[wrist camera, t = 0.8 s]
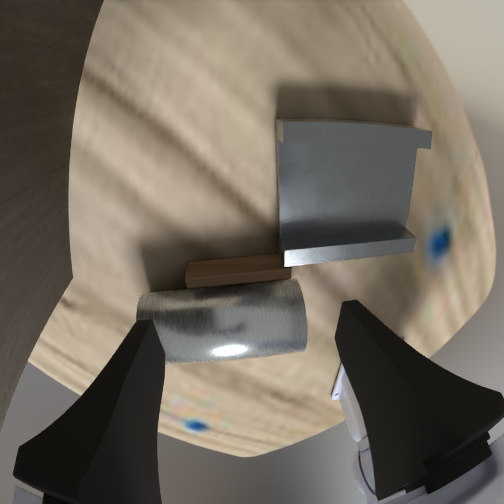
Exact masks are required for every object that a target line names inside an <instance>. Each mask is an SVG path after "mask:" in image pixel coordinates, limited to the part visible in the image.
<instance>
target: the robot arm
mask: <svg viewBox="0 0 504 504" xmlns="http://www.w3.org/2000/svg"><path fill="white" fill-rule="evenodd" d="M335 341H336V345H337V349H338V352H339V356H340V360H341V362H342V363H341V367H340V370H339V373H338V377H337V380H336V383H335V386H334V389H333V392H332V395H331V399H332V400H336V399H339V401H340V404H341V407H342V410H343V413H344V416H345V419H346V422H347V425H348V428H349V432H350V434H351V436H352V438H353V439H354V440H355V441H357V444H358V447H359V449H358V450H356V451H355V452H354V455H353V457H352V462H351V466H352V472H353V476H354V479H355V482H356V484H357V486H358V488H359V489H360V491H361V492H362V493H363V495H364V497H365V499H366V501H367V504H496V503H497V502H498V501H499V500H500V499H501V498H502V497H503V496H504V434H503V435H502V436H500V437H499V438H498V439H496V440H495V441H494V442H492V443H491V444H490V445H488V443H487V440H489V439H490V435H489V433H488V431H489V430H490V429H491V428H492V427H494V426H495V425H496V424H497V423H498V422H499V421H500V420H501V419H502V418H504V398H503V396H502V394H501V393H500V392H497V391H495V390H491V389H488V388H485V387H482V386H480V385H476V384H475V383H472V382H470V381H468V380H465V379H463V378H461V377H459V376H457V375H455V374H453V373H451V372H449V371H448V370H446V369H444V368H442V367H441V366H439V365H437V364H436V363H434V362H432V361H431V360H429V359H428V358H426V357H425V356H423V355H422V354H421V353H419V352H418V351H416V350H415V349H414V348H412V347H411V346H410V345H409V344H407V343H406V342H405V341H403V340H402V339H401V338H400V337H398V336H397V335H396V334H395V333H394V332H393V331H391V330H390V329H389V328H388V327H387V326H386V325H384V324H383V323H382V322H381V321H380V320H379V319H378V318H377V317H376V316H374V315H373V314H372V313H371V312H370V311H369V310H368V309H367V308H366V307H364V306H363V305H362V304H361V303H360V302H359V301H358V300H352V301H345V302H342V306H341V311H340V316H339V320H338V325H337V329H336V333H335ZM164 378H165V351H164V349H163V346H162V344H161V341H160V339H159V336H158V333H157V331H156V328H155V325H154V322H153V320H152V319H148V320H137V321H136V323H135V324H134V325H133V327H132V328H131V330H130V331H129V333H128V334H127V336H126V337H125V339H124V340H123V342H122V343H121V345H120V346H119V347H118V349H117V350H116V352H115V353H114V355H113V356H112V357H111V359H110V360H109V362H108V363H107V364H106V366H105V367H104V368H103V370H102V371H101V372H100V374H99V375H98V376H97V378H96V379H95V380H94V381H93V383H92V384H91V385H90V386H89V388H88V389H87V390H86V391H85V392H84V393H83V394H82V396H81V397H80V398H79V399H78V400H77V401H76V402H75V403H74V404H73V405H72V406H71V407H70V408H69V409H68V410H67V411H66V412H65V413H64V414H63V415H62V416H61V417H59V418H58V419H57V420H56V421H55V422H53V423H52V424H51V425H50V426H49V427H47V428H46V429H45V430H43V431H42V432H41V433H39V434H38V435H37V436H35V437H34V438H32V439H31V440H29V441H27V442H26V443H25V444H23V445H21V446H19V449H18V453H17V457H16V462H15V466H14V471H13V476H14V477H15V478H16V479H18V480H20V481H22V482H23V483H25V484H27V485H29V486H31V487H33V488H35V489H37V490H39V491H41V492H43V493H44V496H43V498H42V497H40V496H38V495H35V494H33V493H31V492H29V491H27V490H25V489H23V488H21V487H19V486H15V491H14V499H13V504H162V502H161V495H160V486H159V477H158V461H157V460H158V459H157V430H158V420H159V412H160V405H161V399H162V392H163V385H164Z"/></svg>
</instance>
